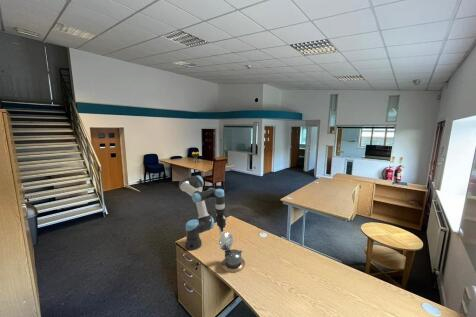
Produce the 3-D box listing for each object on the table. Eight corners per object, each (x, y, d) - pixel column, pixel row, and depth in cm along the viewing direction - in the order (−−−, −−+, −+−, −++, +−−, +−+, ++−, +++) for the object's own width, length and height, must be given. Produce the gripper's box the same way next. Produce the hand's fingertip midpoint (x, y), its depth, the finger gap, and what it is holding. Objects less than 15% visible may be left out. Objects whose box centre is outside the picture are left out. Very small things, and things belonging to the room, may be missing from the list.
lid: (221, 254, 167) (219, 253, 169) (234, 247, 176) (232, 246, 177) (218, 236, 166) (216, 236, 168) (231, 230, 175) (229, 230, 177)
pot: (216, 263, 169) (216, 254, 167) (234, 253, 181) (234, 244, 180) (231, 276, 155) (231, 266, 153) (250, 264, 167) (249, 254, 166)
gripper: (211, 207, 173) (213, 233, 177) (221, 211, 164) (222, 239, 168) (219, 204, 178) (220, 230, 182) (228, 208, 168) (229, 235, 173)
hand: (221, 234), depth 175 cm, fingers closed
